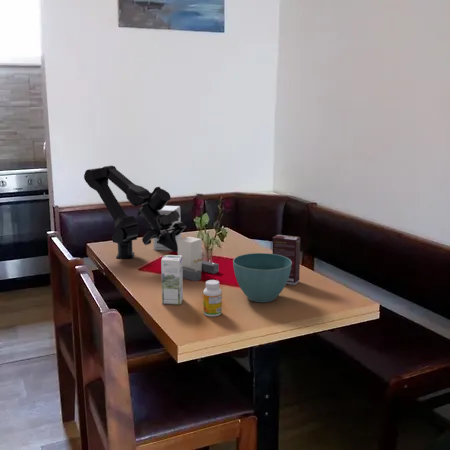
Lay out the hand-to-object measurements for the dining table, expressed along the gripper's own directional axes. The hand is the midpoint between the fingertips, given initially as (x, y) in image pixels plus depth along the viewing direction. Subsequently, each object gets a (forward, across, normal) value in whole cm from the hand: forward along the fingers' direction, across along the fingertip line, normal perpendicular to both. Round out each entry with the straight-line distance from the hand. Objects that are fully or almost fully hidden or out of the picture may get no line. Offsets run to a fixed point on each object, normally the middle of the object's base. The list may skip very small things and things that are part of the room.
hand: (177, 251), depth 210 cm
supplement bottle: (+30, -25, -20) cm, 45 cm away
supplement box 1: (-11, +19, +21) cm, 31 cm away
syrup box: (+19, -25, -9) cm, 33 cm away
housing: (+11, 0, -2) cm, 11 cm away
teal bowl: (+34, -6, -24) cm, 42 cm away
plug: (+9, 0, +1) cm, 9 cm away
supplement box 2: (+32, +12, -22) cm, 41 cm away
